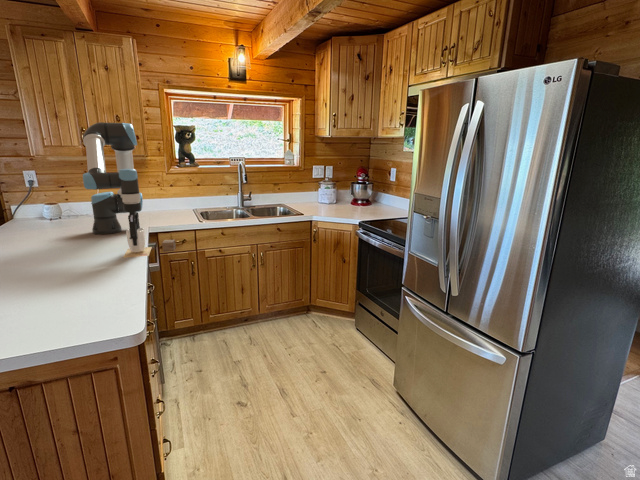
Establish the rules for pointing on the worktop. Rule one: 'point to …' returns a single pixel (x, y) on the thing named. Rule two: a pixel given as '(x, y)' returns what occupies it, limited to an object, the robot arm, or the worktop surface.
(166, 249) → the walnut block
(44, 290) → the worktop surface
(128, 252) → the envelope
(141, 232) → the white cup
